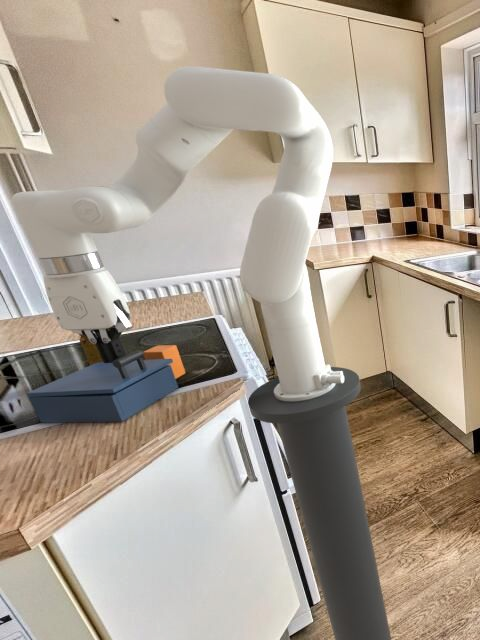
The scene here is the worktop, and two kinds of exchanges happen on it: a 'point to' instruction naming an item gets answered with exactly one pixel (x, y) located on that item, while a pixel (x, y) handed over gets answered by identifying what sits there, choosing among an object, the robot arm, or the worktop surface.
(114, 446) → the worktop surface
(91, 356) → the condiment
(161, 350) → the orange rectangular block
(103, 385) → the lid
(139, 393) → the lunchbox
